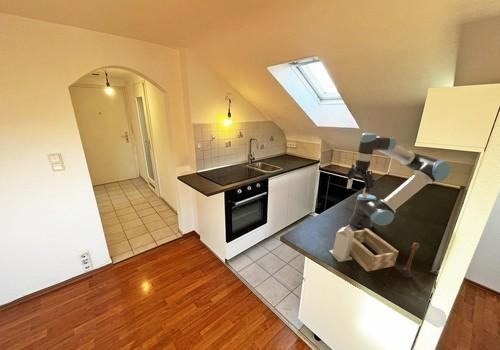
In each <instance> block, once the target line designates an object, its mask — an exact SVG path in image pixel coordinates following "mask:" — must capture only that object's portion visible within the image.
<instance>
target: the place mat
mask: <svg viewBox="0 0 500 350" xmlns="http://www.w3.org/2000/svg"><path fill="white" fill-rule="evenodd" d="M328 251H329V253H330V254H331V255H332V256H333V258H335V260H337V262H338V263H339V262H345V261H351V260H353V257H352V256H351V255H350V254H349V255H348V257H347V258H346V259H345V260H343V259H341V258H339V257H337V256H335V255H334V254H332V253H333V249H331V250H330V249H329V250H328Z"/></svg>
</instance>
